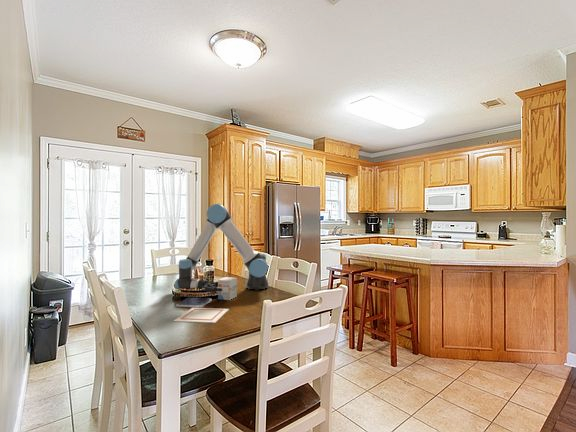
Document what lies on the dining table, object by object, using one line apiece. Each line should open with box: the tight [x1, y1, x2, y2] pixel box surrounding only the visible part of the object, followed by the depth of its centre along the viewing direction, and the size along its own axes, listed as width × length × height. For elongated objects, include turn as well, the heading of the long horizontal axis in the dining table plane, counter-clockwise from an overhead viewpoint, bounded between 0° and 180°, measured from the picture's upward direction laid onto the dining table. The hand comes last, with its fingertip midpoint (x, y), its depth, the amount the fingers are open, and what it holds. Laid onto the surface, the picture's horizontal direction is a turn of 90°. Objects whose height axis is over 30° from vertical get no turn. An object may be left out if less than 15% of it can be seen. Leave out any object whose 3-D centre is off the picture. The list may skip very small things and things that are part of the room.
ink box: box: [217, 276, 238, 301], centre depth 182 cm, size 9×8×12 cm
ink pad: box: [175, 296, 213, 308], centre depth 170 cm, size 15×14×2 cm
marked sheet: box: [173, 307, 230, 324], centre depth 150 cm, size 20×20×1 cm
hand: (232, 287), depth 181 cm, fingers open, 13 cm apart
